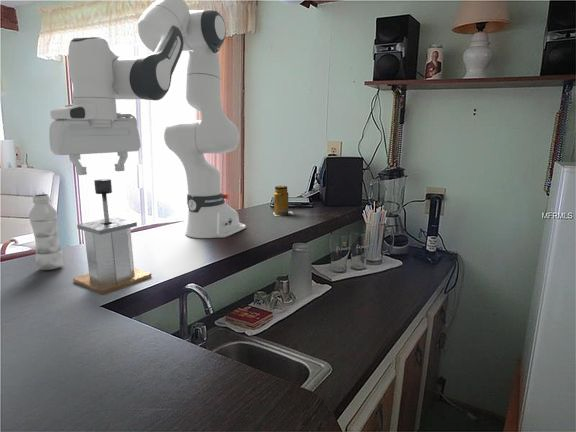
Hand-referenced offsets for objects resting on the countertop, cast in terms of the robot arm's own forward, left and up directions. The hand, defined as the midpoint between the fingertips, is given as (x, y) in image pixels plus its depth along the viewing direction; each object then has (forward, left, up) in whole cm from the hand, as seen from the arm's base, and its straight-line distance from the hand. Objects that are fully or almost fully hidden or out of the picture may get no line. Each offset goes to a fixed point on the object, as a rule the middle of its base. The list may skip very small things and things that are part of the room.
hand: (101, 172), depth 95 cm
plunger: (0, 0, -19) cm, 19 cm away
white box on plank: (0, 0, -27) cm, 27 cm away
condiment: (-85, -9, -27) cm, 90 cm away
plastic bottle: (+5, -21, -27) cm, 35 cm away
